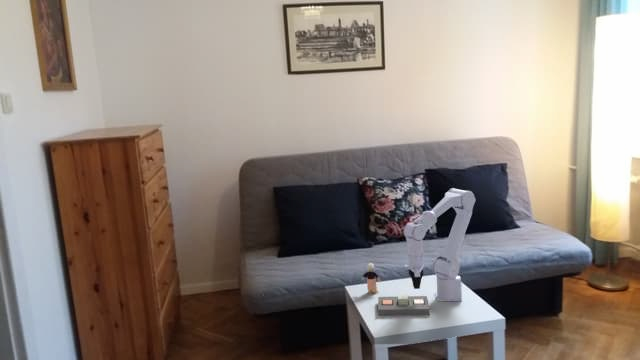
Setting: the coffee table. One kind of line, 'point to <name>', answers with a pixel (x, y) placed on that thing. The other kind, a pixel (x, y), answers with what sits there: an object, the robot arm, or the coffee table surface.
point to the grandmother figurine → (371, 279)
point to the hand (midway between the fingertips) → (416, 288)
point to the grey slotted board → (403, 307)
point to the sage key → (402, 300)
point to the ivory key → (419, 302)
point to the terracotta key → (387, 302)
